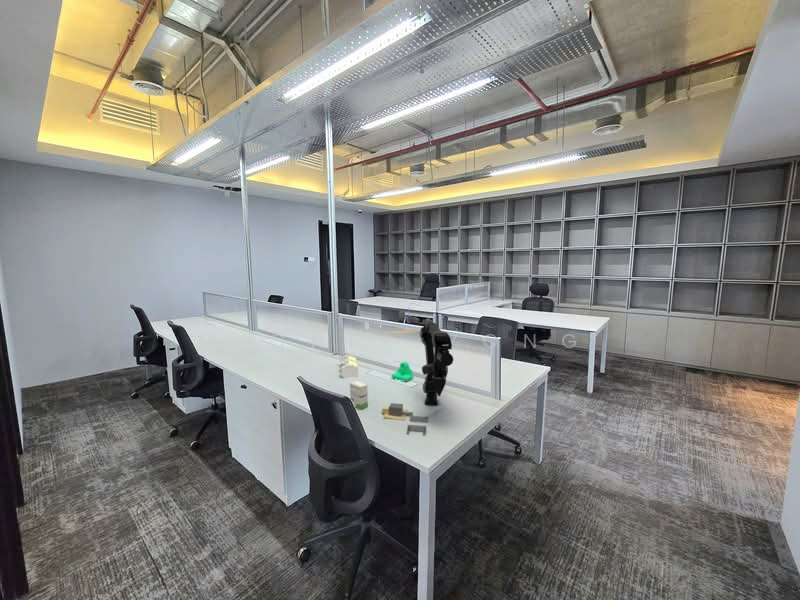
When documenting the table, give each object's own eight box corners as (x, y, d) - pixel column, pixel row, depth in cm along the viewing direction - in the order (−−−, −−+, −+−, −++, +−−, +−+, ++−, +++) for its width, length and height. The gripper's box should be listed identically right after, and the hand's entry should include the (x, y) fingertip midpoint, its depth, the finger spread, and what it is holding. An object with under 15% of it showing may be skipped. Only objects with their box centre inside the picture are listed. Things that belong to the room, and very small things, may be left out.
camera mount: (390, 378, 204) (390, 362, 203) (397, 375, 210) (398, 359, 209) (406, 383, 197) (406, 366, 196) (413, 379, 203) (413, 363, 202)
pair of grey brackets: (411, 416, 154) (411, 412, 153) (428, 418, 152) (428, 414, 152) (406, 433, 138) (406, 429, 138) (425, 435, 137) (425, 431, 137)
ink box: (368, 407, 164) (368, 384, 162) (360, 410, 160) (360, 387, 159) (357, 401, 170) (357, 380, 168) (349, 404, 166) (349, 382, 165)
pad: (387, 409, 162) (387, 408, 162) (407, 410, 160) (407, 409, 160) (383, 418, 152) (383, 417, 152) (404, 420, 150) (404, 419, 150)
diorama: (340, 366, 228) (340, 347, 227) (355, 365, 230) (355, 347, 229) (341, 378, 204) (340, 358, 203) (357, 377, 206) (357, 357, 204)
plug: (383, 410, 159) (383, 402, 159) (413, 412, 157) (413, 404, 156) (381, 414, 155) (381, 406, 154) (412, 417, 152) (412, 408, 152)
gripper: (425, 352, 162) (425, 383, 164) (420, 364, 144) (419, 398, 145) (448, 354, 160) (447, 385, 161) (445, 366, 141) (445, 400, 143)
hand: (439, 391), depth 153 cm, fingers open, 9 cm apart
